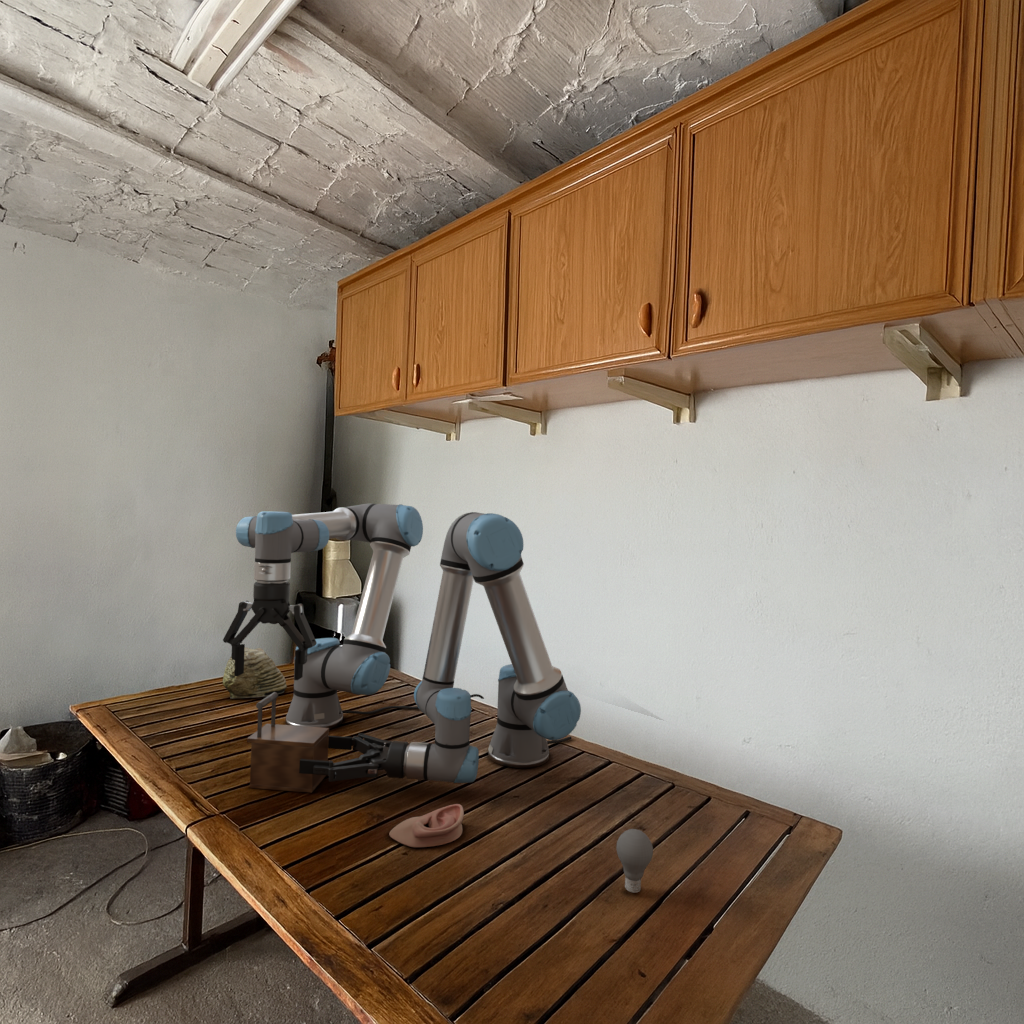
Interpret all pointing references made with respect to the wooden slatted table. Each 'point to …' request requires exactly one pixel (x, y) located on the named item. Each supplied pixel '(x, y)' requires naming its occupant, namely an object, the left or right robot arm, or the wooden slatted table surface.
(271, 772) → the chest
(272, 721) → the lid
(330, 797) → the wooden slatted table surface
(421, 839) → the anatomical model
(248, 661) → the fossil
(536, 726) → the right robot arm
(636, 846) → the light bulb
